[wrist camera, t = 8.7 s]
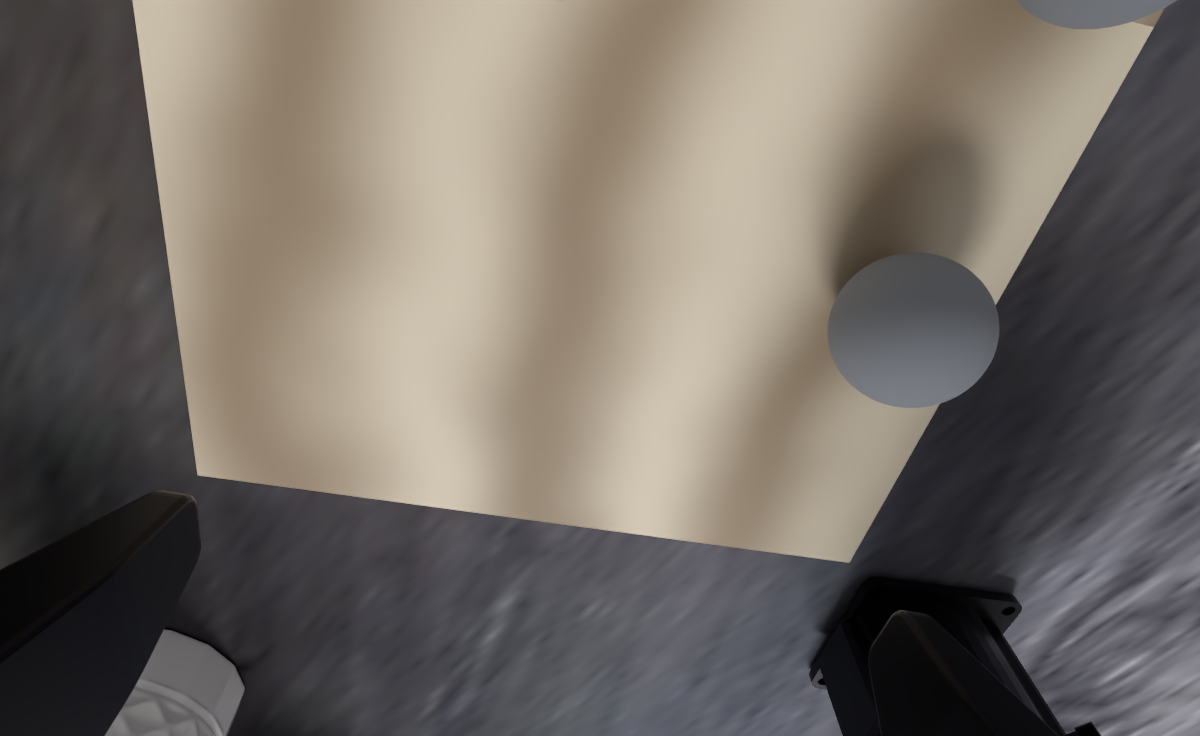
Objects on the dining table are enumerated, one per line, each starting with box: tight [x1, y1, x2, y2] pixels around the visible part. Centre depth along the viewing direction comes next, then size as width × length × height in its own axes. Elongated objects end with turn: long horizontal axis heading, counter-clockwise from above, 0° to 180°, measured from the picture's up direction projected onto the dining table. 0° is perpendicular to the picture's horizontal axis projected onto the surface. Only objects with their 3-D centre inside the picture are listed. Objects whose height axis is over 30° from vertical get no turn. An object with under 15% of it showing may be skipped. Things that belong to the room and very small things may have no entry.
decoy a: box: [828, 253, 999, 408], centre depth 15 cm, size 4×4×4 cm
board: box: [133, 0, 1164, 563], centre depth 15 cm, size 20×24×2 cm
